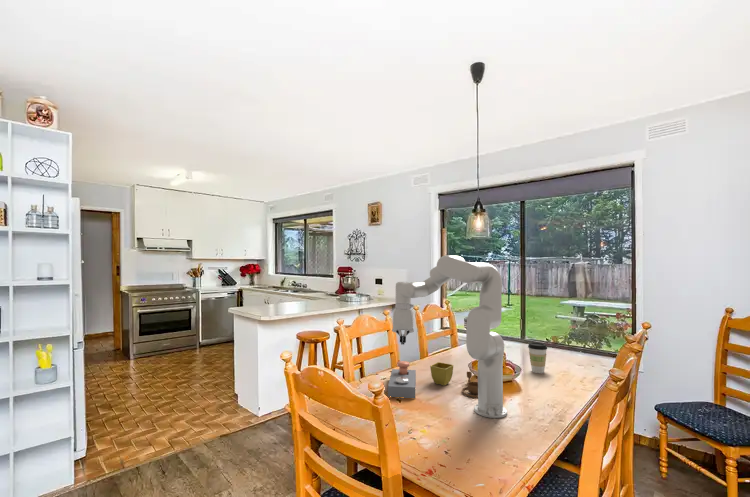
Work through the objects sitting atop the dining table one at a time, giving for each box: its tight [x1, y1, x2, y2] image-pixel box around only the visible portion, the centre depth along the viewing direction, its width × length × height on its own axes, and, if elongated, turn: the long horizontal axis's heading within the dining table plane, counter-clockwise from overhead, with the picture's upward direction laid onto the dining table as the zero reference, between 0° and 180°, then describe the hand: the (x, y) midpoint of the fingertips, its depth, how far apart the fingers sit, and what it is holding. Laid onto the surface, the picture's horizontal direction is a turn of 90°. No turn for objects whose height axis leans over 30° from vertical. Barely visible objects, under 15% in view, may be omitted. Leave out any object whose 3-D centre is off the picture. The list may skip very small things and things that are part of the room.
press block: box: [387, 368, 417, 399], centre depth 169 cm, size 26×12×5 cm, turn 173°
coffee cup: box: [527, 342, 548, 374], centre depth 196 cm, size 10×10×15 cm
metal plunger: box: [396, 377, 409, 384], centre depth 162 cm, size 6×6×6 cm
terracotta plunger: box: [397, 360, 410, 375], centre depth 176 cm, size 6×6×6 cm
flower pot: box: [429, 361, 454, 386], centre depth 175 cm, size 9×9×9 cm
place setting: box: [461, 371, 478, 399], centre depth 165 cm, size 18×20×6 cm
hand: (402, 343), depth 175 cm, fingers closed
